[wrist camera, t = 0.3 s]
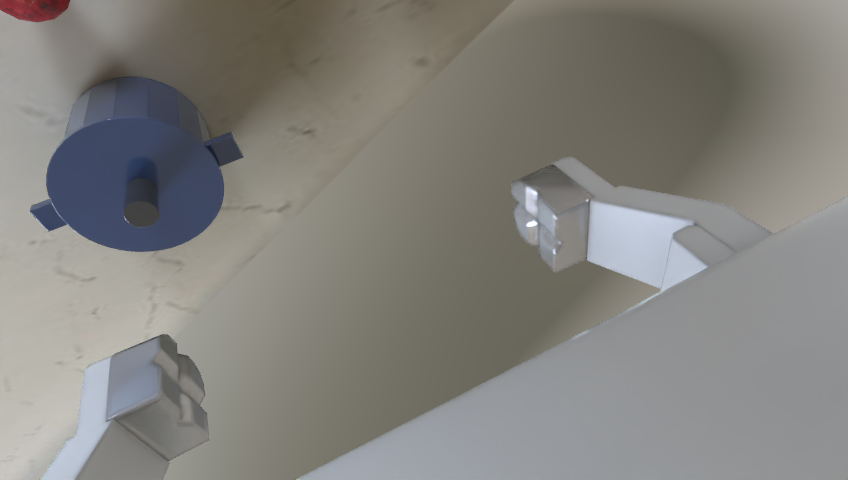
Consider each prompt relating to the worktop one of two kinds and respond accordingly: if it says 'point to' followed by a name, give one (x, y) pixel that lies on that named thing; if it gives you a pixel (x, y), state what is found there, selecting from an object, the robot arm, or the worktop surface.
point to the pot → (139, 101)
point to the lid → (135, 183)
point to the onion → (34, 9)
